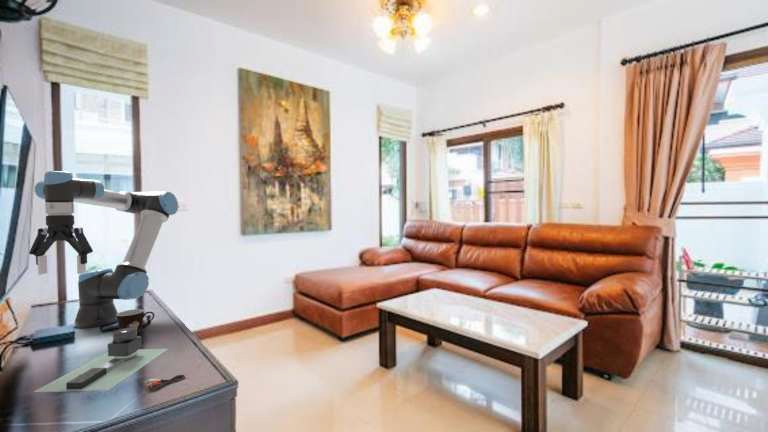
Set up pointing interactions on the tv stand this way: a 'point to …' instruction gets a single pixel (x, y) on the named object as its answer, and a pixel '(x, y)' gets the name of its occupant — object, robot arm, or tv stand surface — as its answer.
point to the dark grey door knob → (124, 342)
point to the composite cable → (162, 382)
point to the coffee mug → (132, 319)
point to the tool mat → (108, 379)
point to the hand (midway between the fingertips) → (62, 273)
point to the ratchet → (97, 372)
